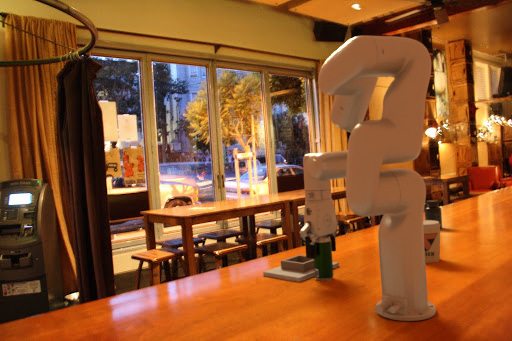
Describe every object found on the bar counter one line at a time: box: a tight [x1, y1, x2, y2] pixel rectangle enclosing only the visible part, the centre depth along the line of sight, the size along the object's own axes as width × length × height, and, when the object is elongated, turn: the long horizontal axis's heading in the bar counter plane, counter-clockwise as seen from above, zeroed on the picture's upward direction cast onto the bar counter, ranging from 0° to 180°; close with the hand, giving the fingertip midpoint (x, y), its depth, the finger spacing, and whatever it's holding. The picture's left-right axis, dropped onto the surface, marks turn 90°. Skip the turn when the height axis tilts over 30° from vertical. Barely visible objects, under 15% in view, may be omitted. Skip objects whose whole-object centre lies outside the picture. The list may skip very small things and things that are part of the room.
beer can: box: [314, 236, 334, 282], centre depth 131 cm, size 5×5×12 cm
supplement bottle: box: [424, 199, 443, 230], centre depth 196 cm, size 7×7×12 cm
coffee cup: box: [423, 219, 441, 264], centre depth 143 cm, size 9×9×12 cm
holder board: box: [262, 254, 340, 283], centre depth 141 cm, size 20×14×4 cm
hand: (321, 254), depth 131 cm, fingers open, 9 cm apart
